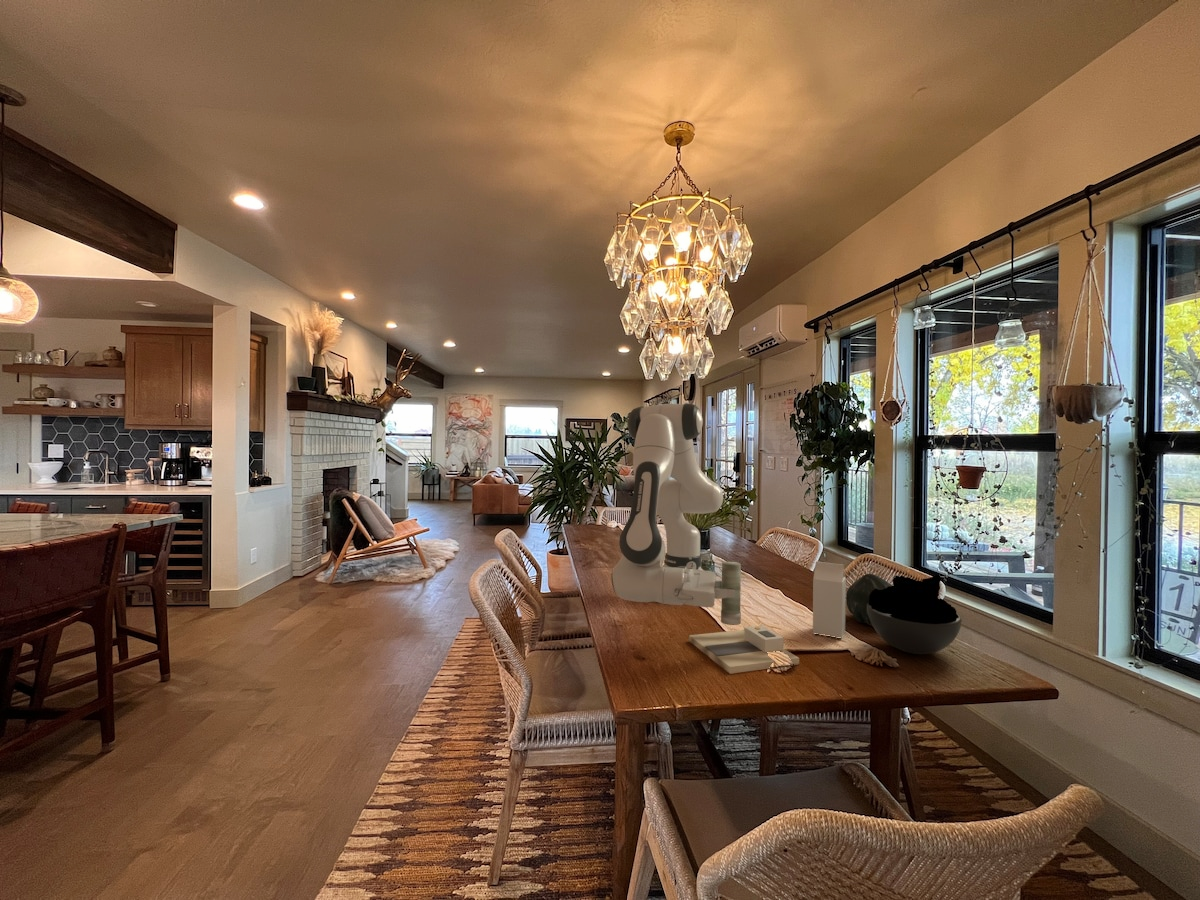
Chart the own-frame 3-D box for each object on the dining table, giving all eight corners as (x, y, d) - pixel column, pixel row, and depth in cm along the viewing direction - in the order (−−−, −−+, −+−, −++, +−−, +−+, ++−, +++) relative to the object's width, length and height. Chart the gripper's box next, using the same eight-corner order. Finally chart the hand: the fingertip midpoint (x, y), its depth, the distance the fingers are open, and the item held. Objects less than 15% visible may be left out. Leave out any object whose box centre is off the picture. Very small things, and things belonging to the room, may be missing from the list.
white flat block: (689, 641, 135) (689, 634, 135) (750, 634, 140) (750, 628, 140) (730, 673, 116) (730, 666, 116) (799, 664, 121) (799, 657, 121)
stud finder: (744, 638, 132) (744, 626, 132) (761, 636, 134) (761, 624, 134) (765, 652, 124) (765, 638, 124) (783, 650, 125) (783, 636, 125)
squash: (901, 597, 156) (866, 559, 157) (923, 615, 142) (884, 572, 143) (862, 626, 159) (828, 588, 160) (880, 647, 144) (842, 604, 145)
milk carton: (841, 640, 136) (842, 567, 136) (812, 634, 140) (813, 563, 140) (845, 631, 142) (845, 562, 142) (817, 626, 146) (817, 559, 146)
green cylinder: (717, 619, 127) (717, 562, 127) (734, 618, 129) (734, 561, 129) (727, 625, 123) (727, 566, 123) (744, 624, 124) (745, 565, 124)
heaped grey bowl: (873, 661, 123) (874, 581, 123) (861, 632, 142) (861, 563, 142) (974, 673, 116) (975, 589, 116) (946, 642, 135) (947, 569, 135)
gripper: (672, 583, 119) (735, 588, 115) (680, 564, 139) (734, 567, 135) (672, 611, 119) (735, 616, 115) (680, 588, 139) (734, 592, 135)
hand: (734, 590), depth 126 cm, fingers closed on green cylinder, 4 cm apart
